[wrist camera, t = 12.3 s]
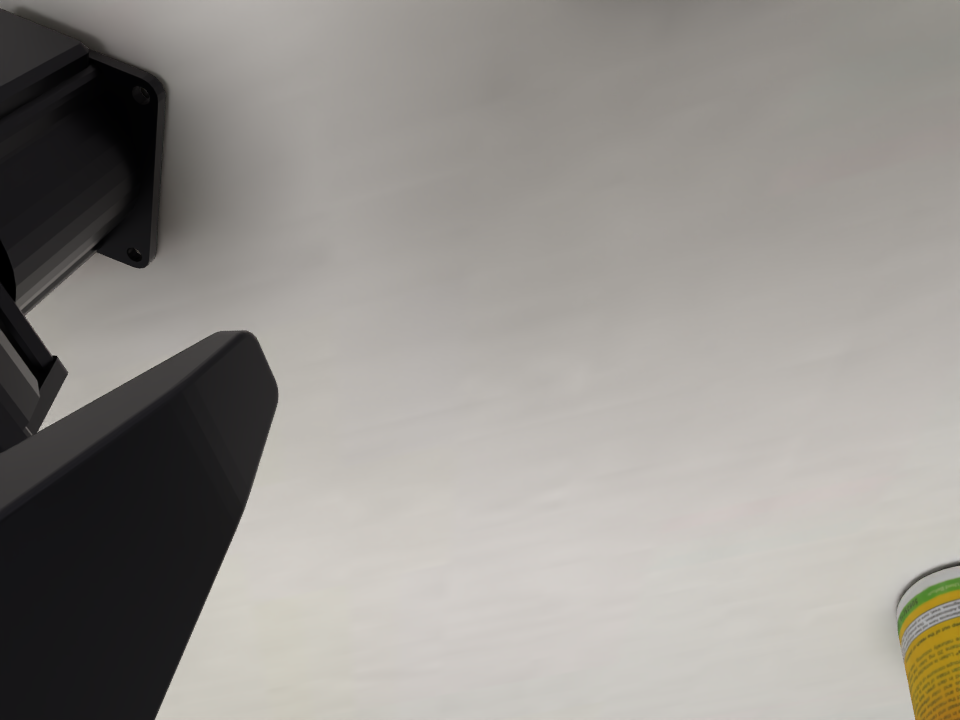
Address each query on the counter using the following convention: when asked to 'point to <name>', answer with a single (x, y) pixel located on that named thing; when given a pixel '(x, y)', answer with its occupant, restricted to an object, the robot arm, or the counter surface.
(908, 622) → the supplement bottle
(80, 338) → the counter surface
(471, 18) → the counter surface
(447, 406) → the counter surface
